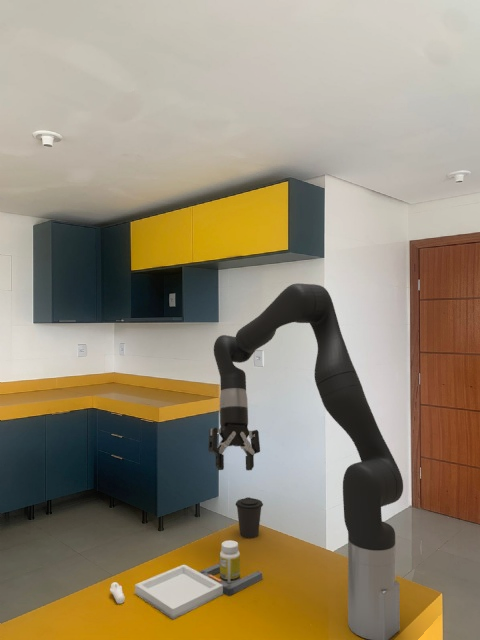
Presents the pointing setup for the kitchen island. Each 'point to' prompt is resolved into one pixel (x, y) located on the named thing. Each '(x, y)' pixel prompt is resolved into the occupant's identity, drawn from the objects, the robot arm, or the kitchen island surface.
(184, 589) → the tray
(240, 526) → the coffee cup
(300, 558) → the kitchen island surface
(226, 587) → the holder
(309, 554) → the kitchen island surface
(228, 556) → the supplement bottle
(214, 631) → the kitchen island surface
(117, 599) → the small white plastic part
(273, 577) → the kitchen island surface
